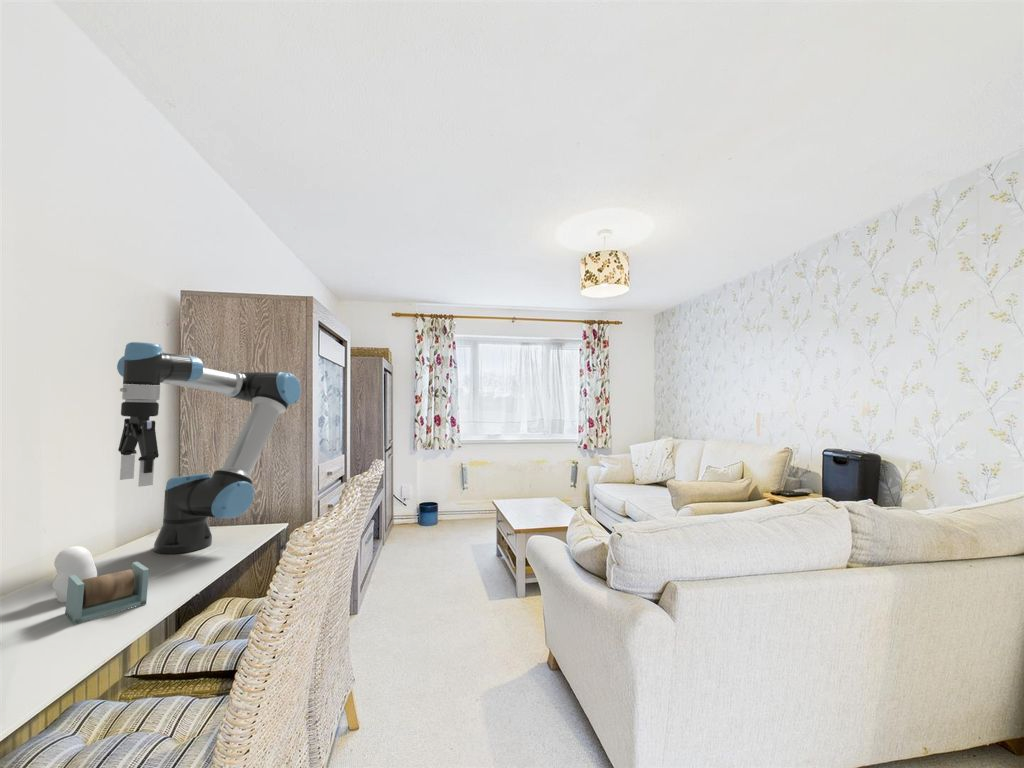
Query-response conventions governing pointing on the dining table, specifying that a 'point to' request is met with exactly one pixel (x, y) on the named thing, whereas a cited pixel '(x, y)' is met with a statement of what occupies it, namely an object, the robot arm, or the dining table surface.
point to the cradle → (92, 612)
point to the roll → (107, 588)
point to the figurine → (72, 568)
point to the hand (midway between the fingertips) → (135, 482)
